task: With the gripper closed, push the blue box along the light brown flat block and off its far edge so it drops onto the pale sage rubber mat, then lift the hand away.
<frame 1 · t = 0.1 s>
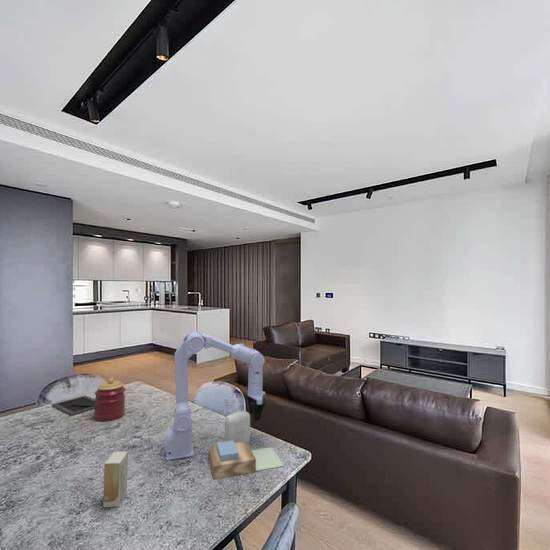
hand: (254, 416, 124), 10 cm above the table, fingers open, 7 cm apart
photo printer: (237, 445, 122), on the table
mat: (264, 458, 112), on the table
skincare box: (115, 501, 89), on the table
light brown flat block: (231, 464, 108), on the table
canister: (109, 416, 147), on the table
blue box: (227, 453, 108), point 4 cm above the table, touching light brown flat block
picture frame: (78, 407, 159), on the table
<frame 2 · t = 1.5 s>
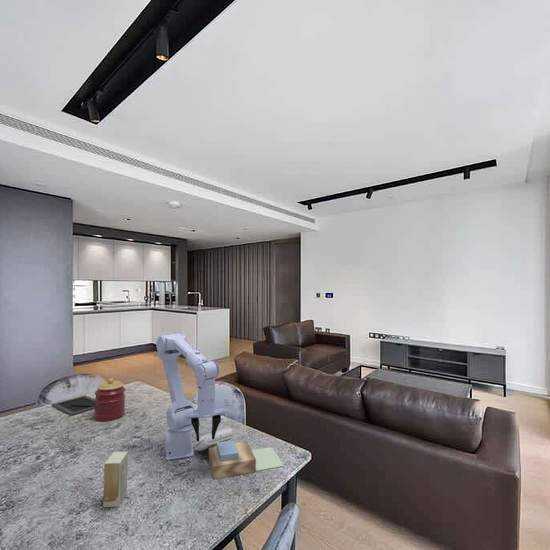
hand: (205, 439, 106), 10 cm above the table, fingers open, 4 cm apart
photo printer: (227, 435, 121), point 4 cm above the table, touching light brown flat block
everything else where it was.
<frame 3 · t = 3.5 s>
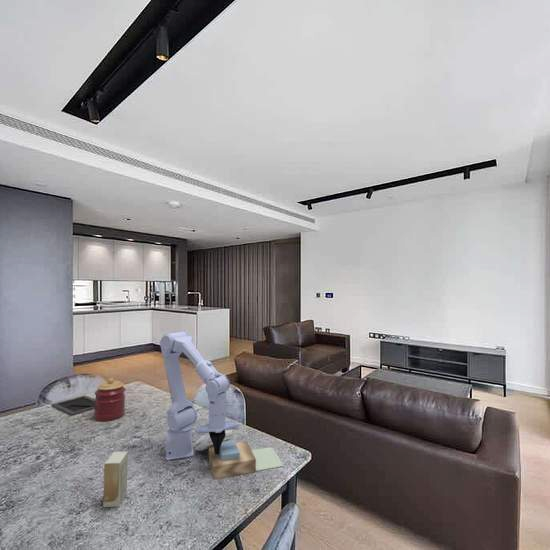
hand: (216, 453, 107), 5 cm above the table, fingers closed
blue box: (228, 453, 108), point 4 cm above the table, touching light brown flat block, gripper
everything else where it was.
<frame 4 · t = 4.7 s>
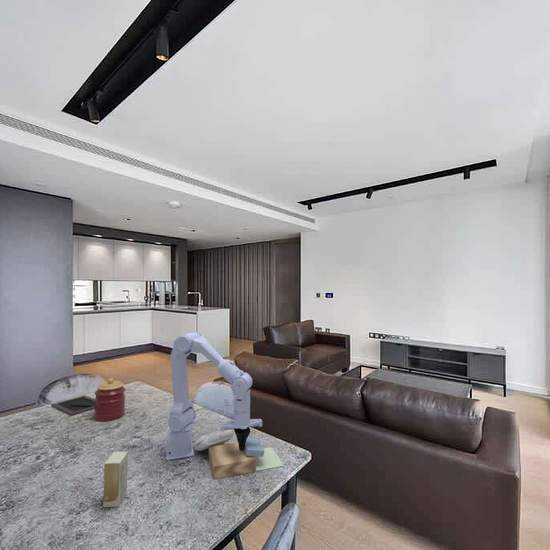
hand: (241, 449, 109), 5 cm above the table, fingers closed
blue box: (251, 449, 111), point 4 cm above the table, tilted 11°, touching light brown flat block
everything else where it was.
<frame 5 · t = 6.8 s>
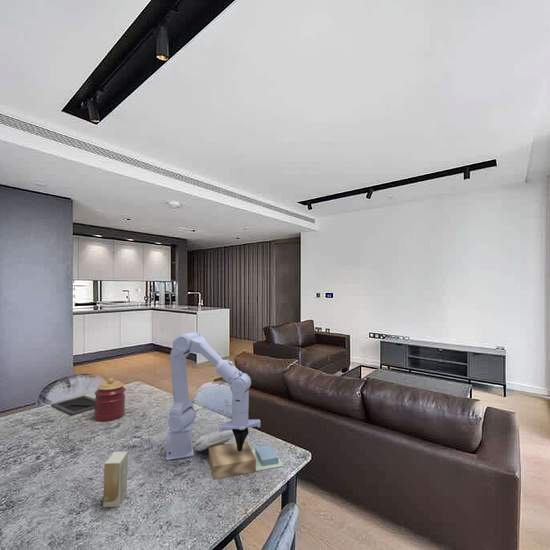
hand: (239, 449, 109), 5 cm above the table, fingers closed
blue box: (266, 452, 112), point 2 cm above the table, tilted 180°, touching mat
everything else where it was.
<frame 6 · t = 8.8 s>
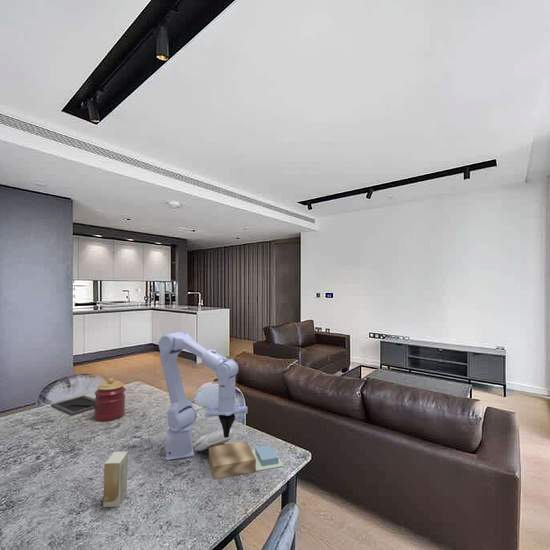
hand: (226, 436, 108), 10 cm above the table, fingers closed
nothing on the table moved.
at the end: blue box point 2.3 cm above the table; blue box inside the target area on the mat (0.5 cm from its centre), point 2.3 cm above the mat's base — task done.
